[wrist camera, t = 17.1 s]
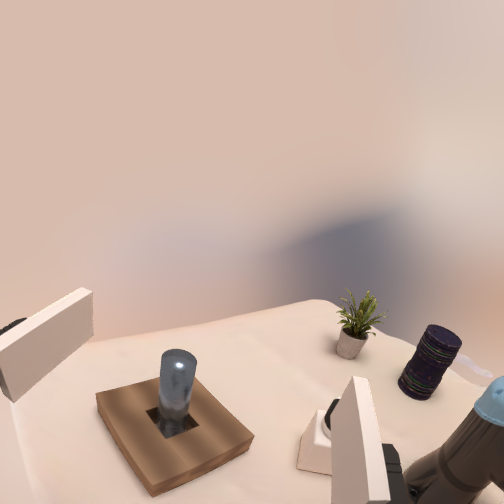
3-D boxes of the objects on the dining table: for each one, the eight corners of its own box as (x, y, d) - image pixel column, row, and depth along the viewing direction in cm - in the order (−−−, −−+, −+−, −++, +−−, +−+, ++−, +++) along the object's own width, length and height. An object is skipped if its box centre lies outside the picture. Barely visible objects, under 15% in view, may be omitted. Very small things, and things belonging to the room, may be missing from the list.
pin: (174, 421, 38) (184, 345, 34) (189, 439, 35) (203, 366, 31) (151, 429, 35) (155, 353, 31) (166, 449, 32) (173, 375, 28)
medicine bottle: (340, 477, 32) (380, 429, 29) (295, 469, 33) (329, 420, 30) (341, 444, 39) (375, 395, 36) (301, 435, 40) (330, 384, 37)
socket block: (184, 385, 46) (187, 368, 45) (247, 450, 36) (254, 435, 35) (98, 410, 35) (95, 393, 33) (152, 497, 24) (152, 485, 23)
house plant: (319, 329, 77) (340, 274, 72) (366, 343, 74) (389, 289, 69) (315, 357, 63) (340, 294, 59) (370, 373, 61) (400, 312, 56)
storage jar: (430, 383, 59) (459, 333, 55) (431, 405, 50) (465, 352, 46) (398, 370, 63) (425, 319, 59) (395, 392, 55) (427, 336, 50)
